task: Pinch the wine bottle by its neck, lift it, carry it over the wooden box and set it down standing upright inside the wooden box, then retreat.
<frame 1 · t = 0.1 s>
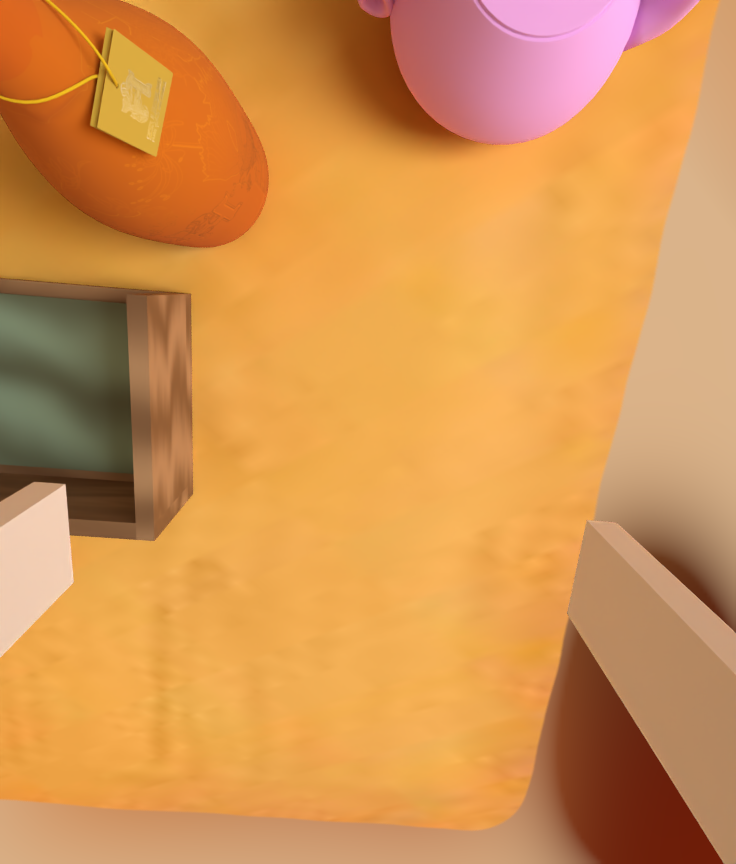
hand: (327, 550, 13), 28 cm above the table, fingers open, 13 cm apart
wine bottle: (205, 178, 37), on the table
wooden box: (88, 391, 40), on the table
teapot: (506, 42, 35), on the table
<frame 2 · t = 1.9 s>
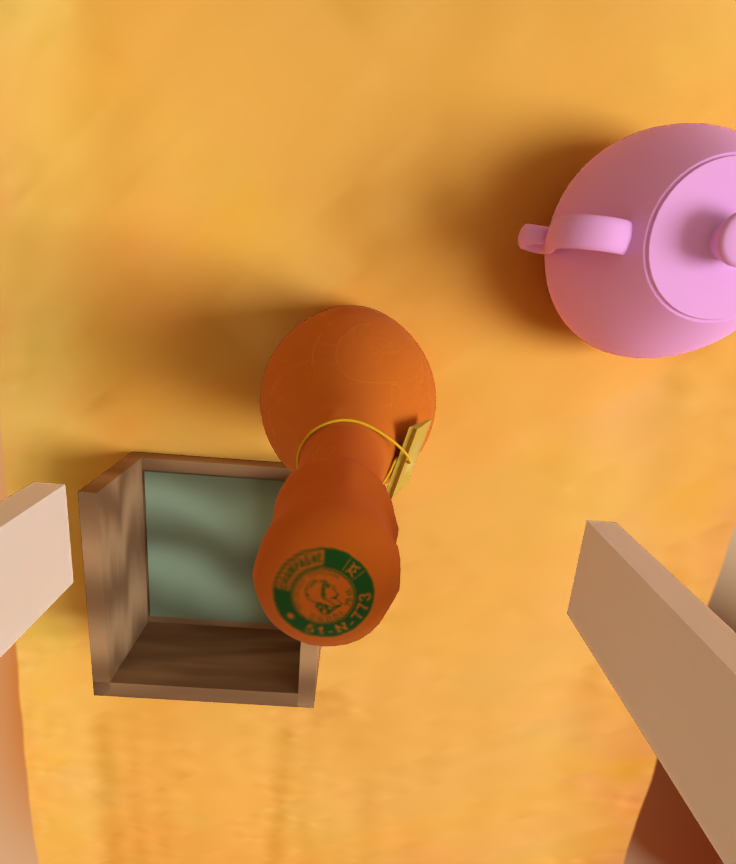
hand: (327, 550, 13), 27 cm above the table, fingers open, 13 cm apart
wine bottle: (352, 368, 40), on the table
wooden box: (232, 548, 44), on the table
teapot: (637, 253, 38), on the table
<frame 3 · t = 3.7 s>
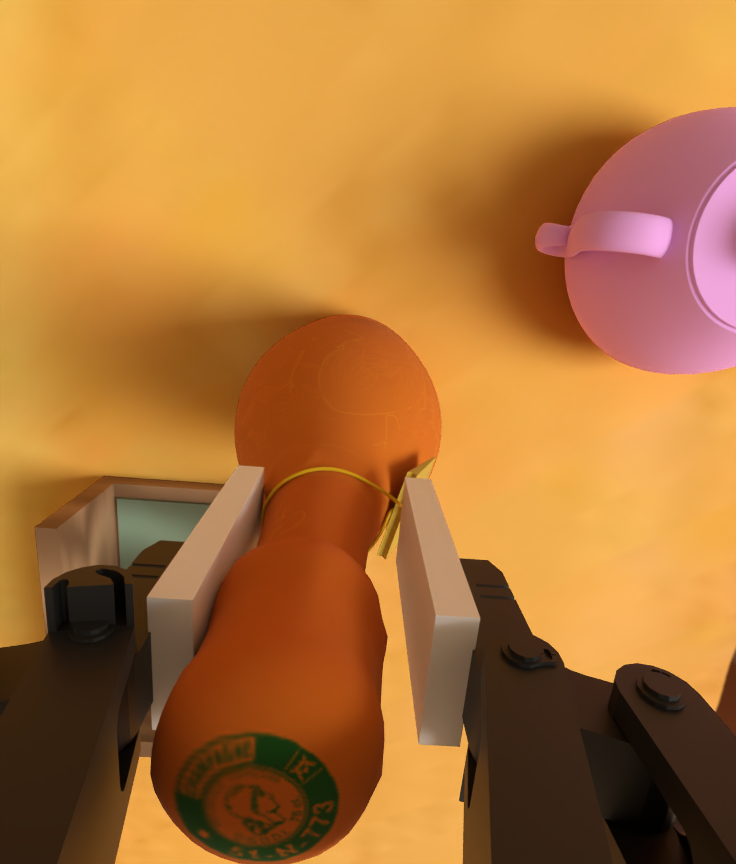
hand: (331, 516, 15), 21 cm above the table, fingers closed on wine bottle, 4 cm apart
wine bottle: (348, 384, 36), on the table, touching gripper
wooden box: (216, 581, 39), on the table
teapot: (665, 256, 34), on the table
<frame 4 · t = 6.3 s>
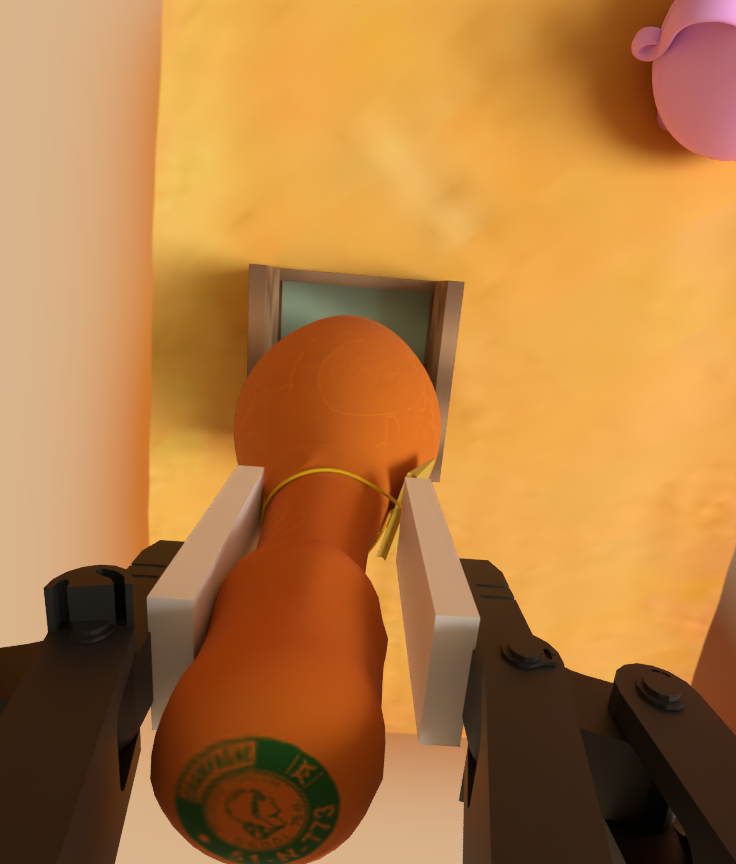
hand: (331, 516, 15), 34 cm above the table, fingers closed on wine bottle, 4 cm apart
wine bottle: (348, 384, 36), point 13 cm above the table, touching gripper
wooden box: (351, 364, 48), on the table
teapot: (725, 77, 43), on the table
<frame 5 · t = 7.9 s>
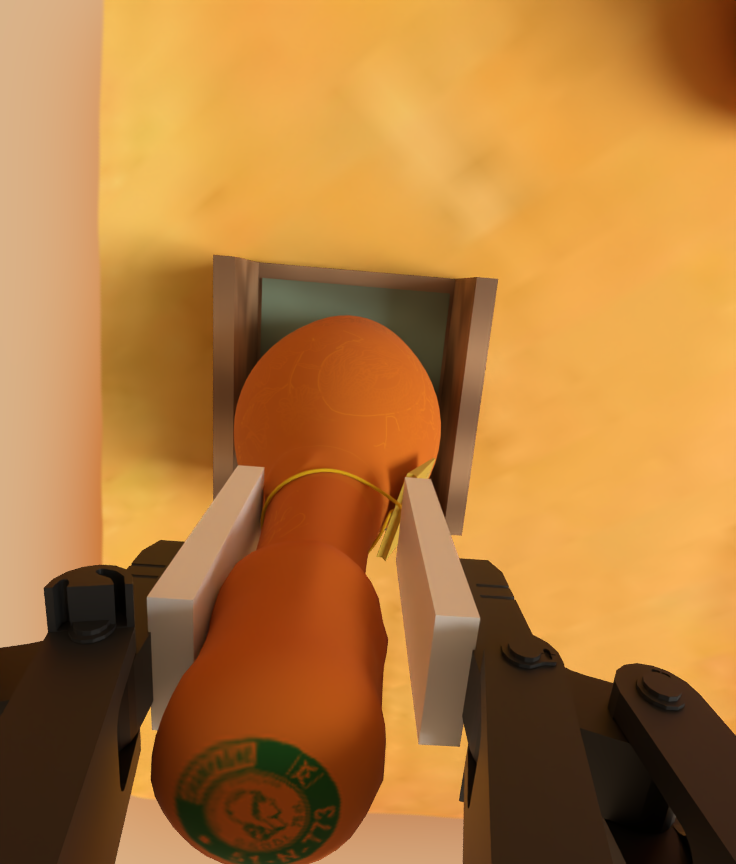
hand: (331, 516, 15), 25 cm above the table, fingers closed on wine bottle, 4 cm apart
wine bottle: (347, 384, 36), point 3 cm above the table, touching gripper
wooden box: (350, 381, 39), on the table
when the fingers open (24 cm above the table, at t = 9.1 s): wine bottle stays where it is, resting on wooden box.
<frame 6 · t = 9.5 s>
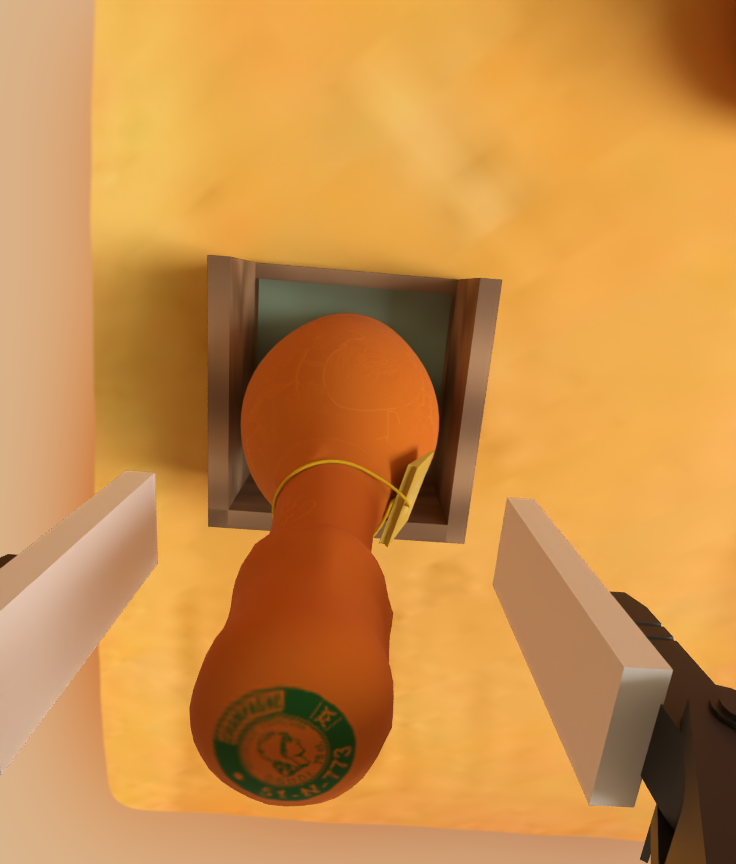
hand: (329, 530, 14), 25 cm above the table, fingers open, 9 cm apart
wine bottle: (348, 380, 37), point 1 cm above the table, touching wooden box
wooden box: (349, 385, 38), on the table
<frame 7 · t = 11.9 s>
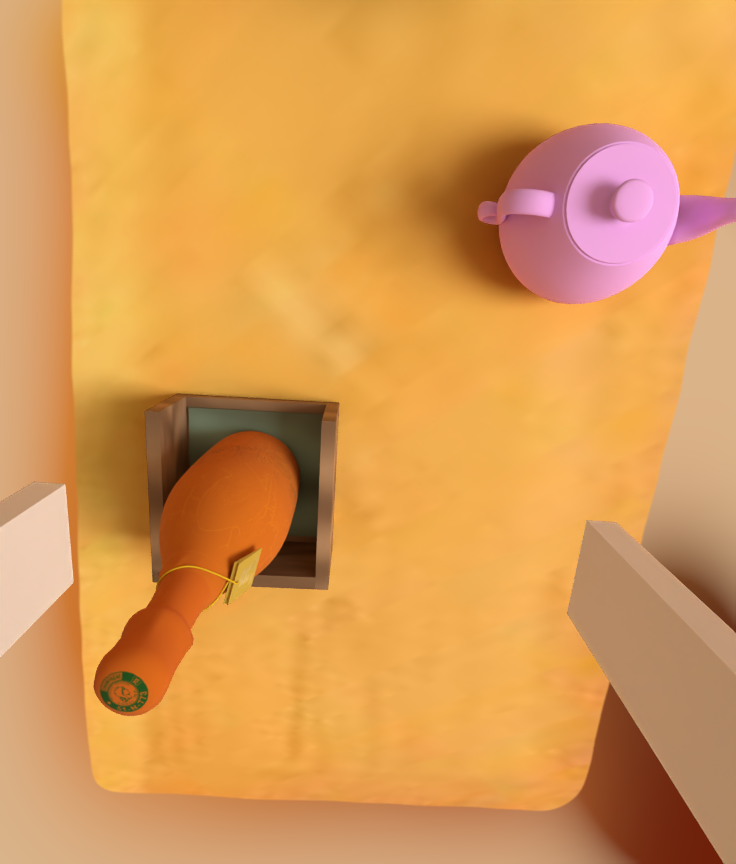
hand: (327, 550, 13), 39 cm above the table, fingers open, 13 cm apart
wine bottle: (254, 472, 52), point 1 cm above the table, touching wooden box
wooden box: (258, 474, 53), on the table
teapot: (573, 225, 48), on the table
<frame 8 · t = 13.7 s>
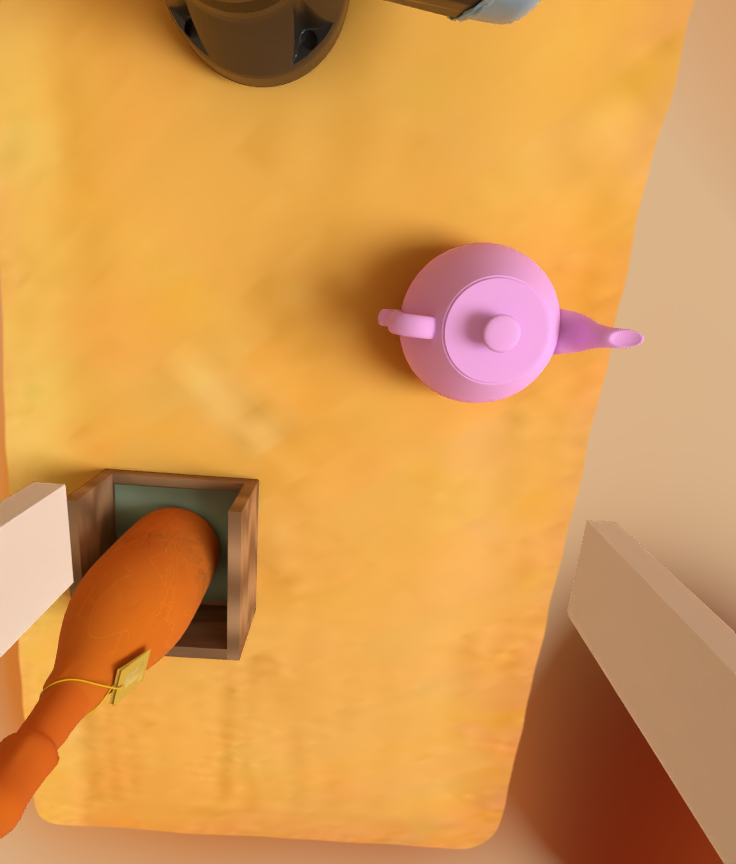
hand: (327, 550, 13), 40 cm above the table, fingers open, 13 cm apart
wine bottle: (178, 543, 55), point 1 cm above the table, touching wooden box
wooden box: (183, 542, 57), on the table
teapot: (477, 323, 51), on the table
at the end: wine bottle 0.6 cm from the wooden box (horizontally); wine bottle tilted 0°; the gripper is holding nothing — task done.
